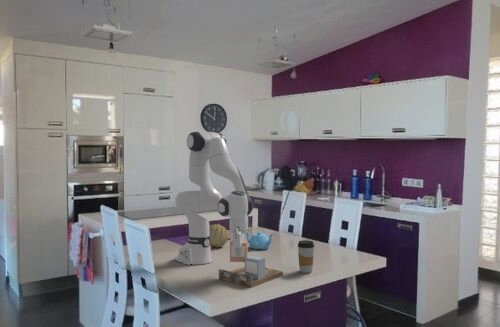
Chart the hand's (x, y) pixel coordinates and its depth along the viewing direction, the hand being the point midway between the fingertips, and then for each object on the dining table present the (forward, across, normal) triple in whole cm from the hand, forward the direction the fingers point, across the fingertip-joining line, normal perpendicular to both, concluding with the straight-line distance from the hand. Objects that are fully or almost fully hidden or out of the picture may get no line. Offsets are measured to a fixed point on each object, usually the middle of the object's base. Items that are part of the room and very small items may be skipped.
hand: (238, 254), depth 202 cm
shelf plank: (+11, +1, -6) cm, 13 cm away
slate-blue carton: (+9, -5, -8) cm, 13 cm away
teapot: (+11, +64, -5) cm, 65 cm away
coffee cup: (+11, +13, -32) cm, 37 cm away
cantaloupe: (+10, +65, +22) cm, 69 cm away
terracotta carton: (+3, 0, 0) cm, 3 cm away
